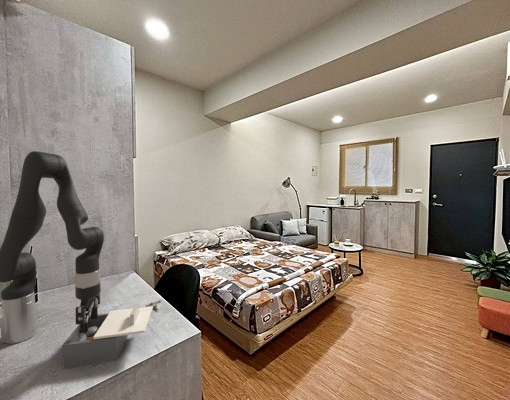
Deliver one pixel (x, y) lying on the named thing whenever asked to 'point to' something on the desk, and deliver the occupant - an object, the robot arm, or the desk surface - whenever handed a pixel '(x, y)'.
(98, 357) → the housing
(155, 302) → the clamp
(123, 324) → the lid
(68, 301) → the desk surface
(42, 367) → the desk surface
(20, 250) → the robot arm
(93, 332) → the peg
